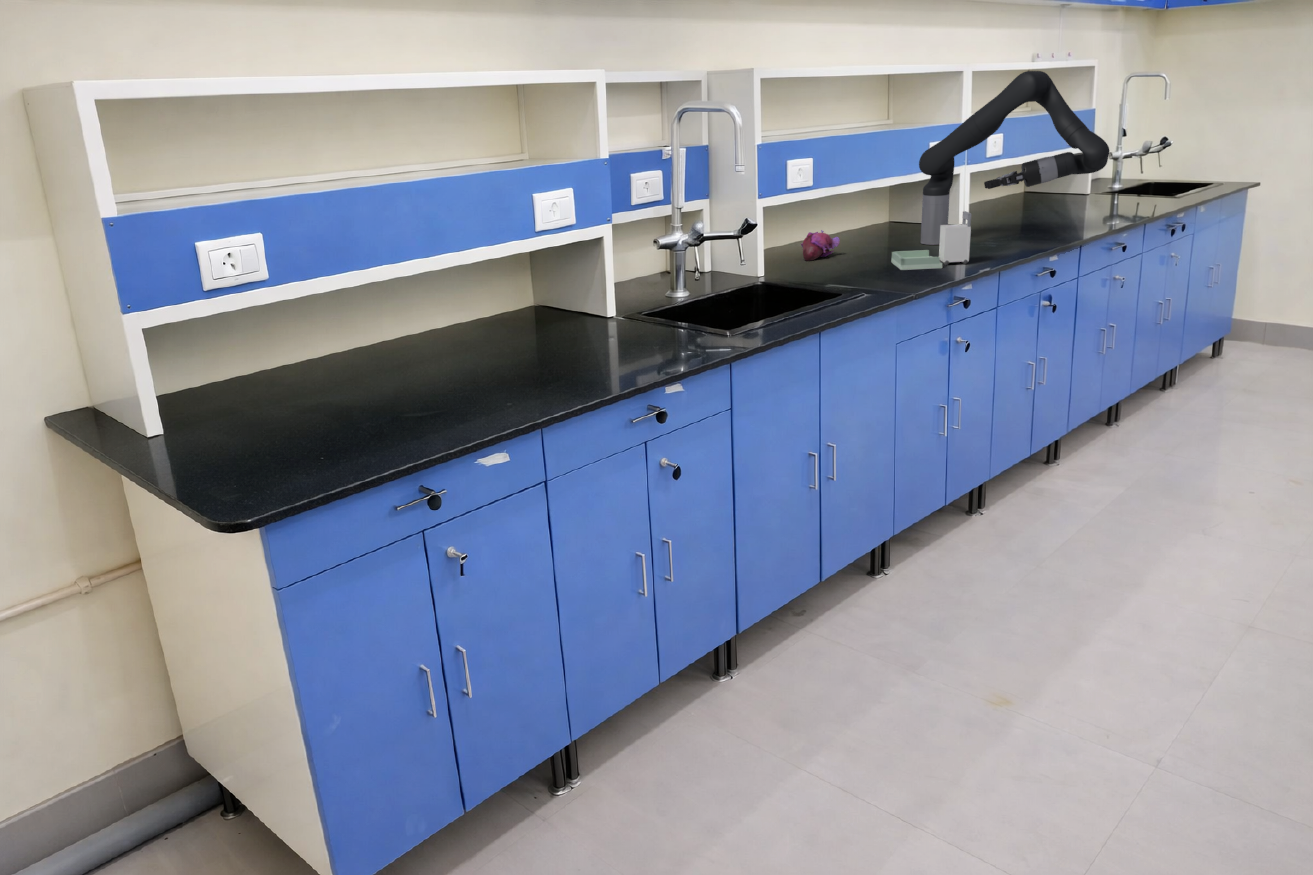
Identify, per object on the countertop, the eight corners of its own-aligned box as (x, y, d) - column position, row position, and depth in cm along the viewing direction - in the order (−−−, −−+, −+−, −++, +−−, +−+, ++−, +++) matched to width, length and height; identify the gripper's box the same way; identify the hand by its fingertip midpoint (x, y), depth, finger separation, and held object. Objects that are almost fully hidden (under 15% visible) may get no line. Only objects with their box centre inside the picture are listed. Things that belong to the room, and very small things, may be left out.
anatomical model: (808, 261, 330) (848, 250, 333) (801, 234, 329) (841, 223, 332) (795, 265, 342) (834, 254, 345) (788, 238, 340) (827, 228, 343)
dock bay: (891, 262, 323) (891, 251, 322) (930, 260, 323) (931, 249, 322) (901, 270, 310) (901, 259, 309) (942, 268, 310) (942, 257, 309)
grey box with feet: (938, 262, 319) (941, 212, 314) (963, 261, 319) (966, 211, 314) (943, 265, 313) (946, 215, 308) (968, 264, 313) (971, 213, 308)
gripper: (1034, 159, 309) (981, 173, 314) (1040, 158, 296) (985, 173, 300) (1038, 183, 311) (985, 197, 315) (1045, 183, 297) (990, 198, 302)
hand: (985, 185), depth 308 cm, fingers open, 8 cm apart
